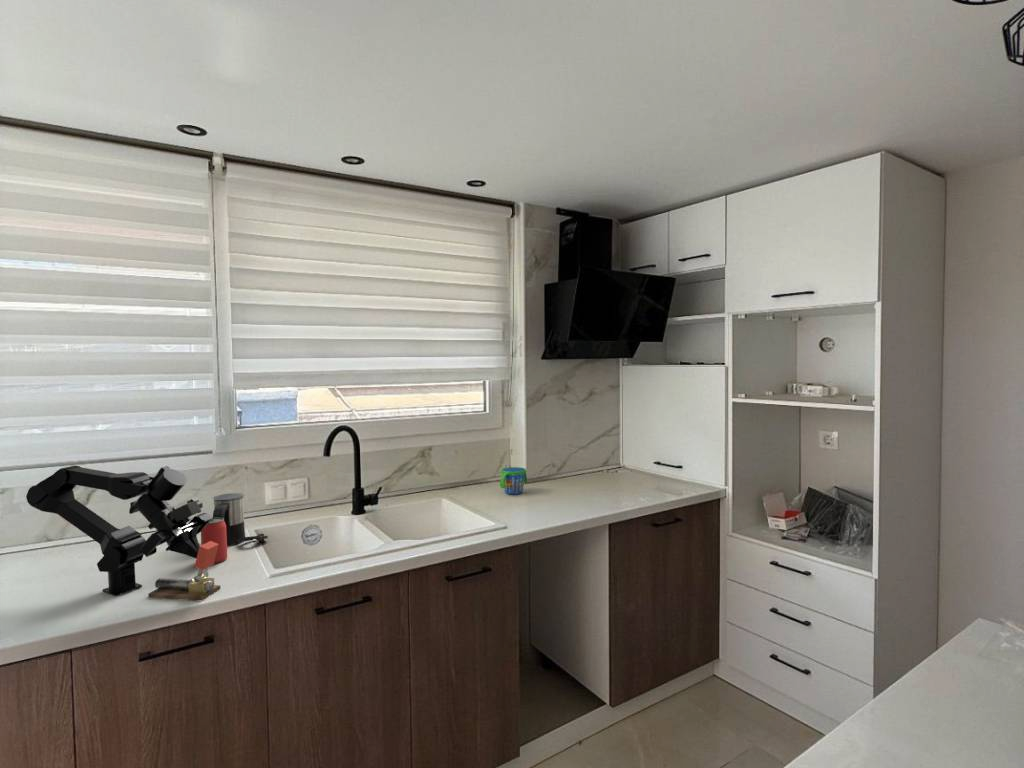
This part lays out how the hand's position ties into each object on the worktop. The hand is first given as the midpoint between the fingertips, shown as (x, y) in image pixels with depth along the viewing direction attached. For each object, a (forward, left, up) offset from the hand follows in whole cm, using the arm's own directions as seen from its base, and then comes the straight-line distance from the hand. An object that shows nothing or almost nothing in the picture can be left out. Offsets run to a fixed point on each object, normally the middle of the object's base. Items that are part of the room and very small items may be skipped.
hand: (201, 557), depth 143 cm
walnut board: (-5, -2, -9) cm, 11 cm away
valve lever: (0, 0, -5) cm, 5 cm away
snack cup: (+21, +125, -10) cm, 127 cm away
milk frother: (-27, +31, -10) cm, 42 cm away
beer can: (-19, +16, -10) cm, 27 cm away
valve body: (-5, -2, -9) cm, 10 cm away
